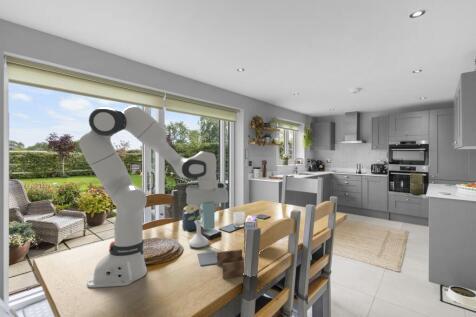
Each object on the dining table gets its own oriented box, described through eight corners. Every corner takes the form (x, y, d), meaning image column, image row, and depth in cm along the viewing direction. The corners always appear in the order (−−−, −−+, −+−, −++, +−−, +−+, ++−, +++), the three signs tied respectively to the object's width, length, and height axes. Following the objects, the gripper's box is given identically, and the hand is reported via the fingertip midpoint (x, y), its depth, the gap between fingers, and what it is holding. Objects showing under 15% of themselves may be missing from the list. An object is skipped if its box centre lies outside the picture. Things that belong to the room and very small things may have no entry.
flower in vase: (206, 240, 143) (206, 199, 143) (210, 247, 133) (210, 202, 132) (184, 243, 139) (184, 200, 139) (186, 251, 128) (186, 204, 128)
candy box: (254, 253, 125) (254, 222, 125) (243, 252, 126) (243, 221, 126) (258, 243, 138) (257, 215, 138) (247, 243, 140) (247, 214, 139)
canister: (178, 228, 168) (178, 203, 168) (194, 224, 177) (194, 200, 176) (188, 232, 158) (188, 206, 158) (204, 228, 167) (204, 203, 167)
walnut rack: (223, 279, 100) (223, 264, 100) (217, 265, 112) (216, 252, 112) (250, 274, 103) (250, 260, 103) (241, 261, 116) (241, 249, 115)
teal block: (204, 229, 113) (203, 203, 112) (201, 223, 121) (201, 200, 121) (214, 228, 114) (214, 203, 114) (211, 223, 123) (211, 199, 122)
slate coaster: (200, 266, 111) (200, 265, 111) (197, 254, 124) (197, 253, 124) (219, 263, 114) (219, 262, 114) (214, 252, 126) (214, 251, 126)
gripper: (186, 186, 111) (186, 216, 112) (229, 184, 117) (229, 212, 117) (185, 184, 117) (185, 212, 118) (226, 182, 123) (226, 209, 123)
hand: (207, 212), depth 117 cm, fingers closed on teal block, 5 cm apart
